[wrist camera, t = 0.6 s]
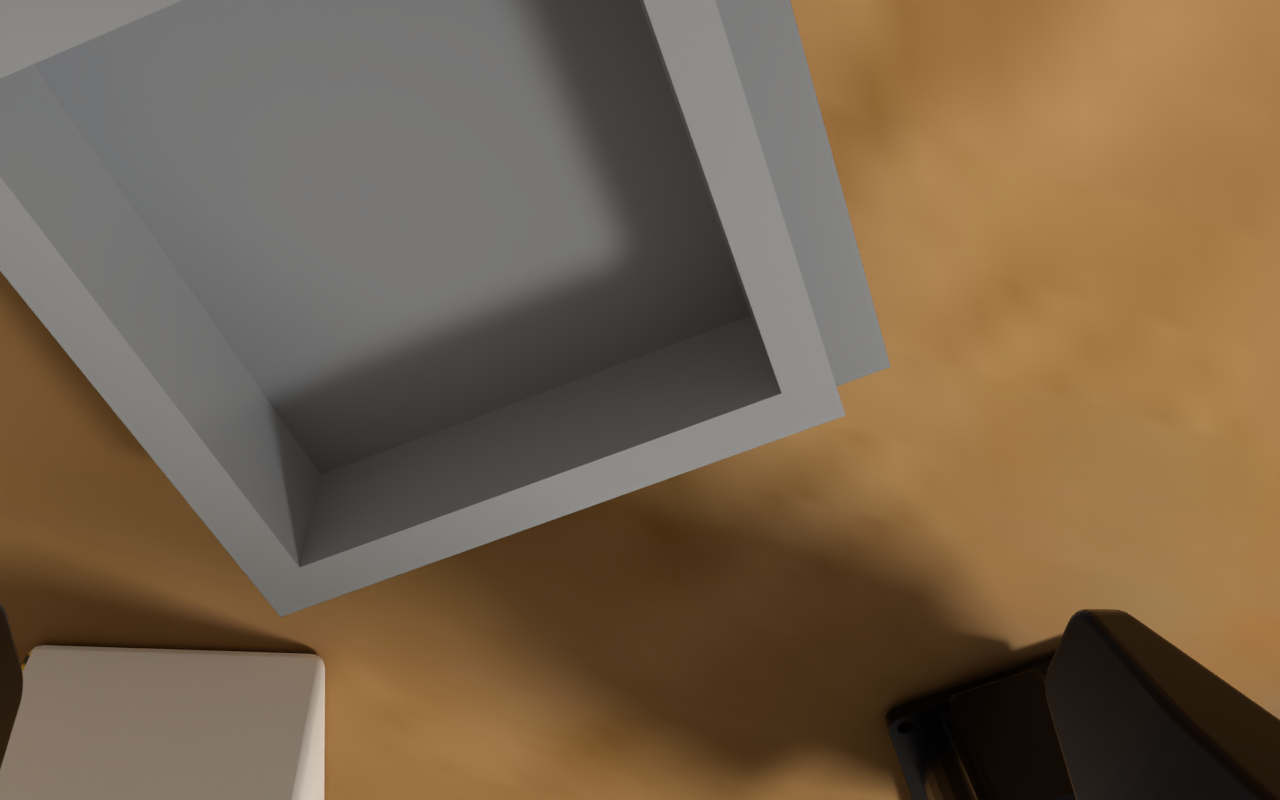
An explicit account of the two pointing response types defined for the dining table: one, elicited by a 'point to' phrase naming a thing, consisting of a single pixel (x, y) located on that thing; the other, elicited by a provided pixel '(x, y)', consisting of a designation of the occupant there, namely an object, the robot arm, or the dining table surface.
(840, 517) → the dining table surface
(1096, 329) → the dining table surface
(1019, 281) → the dining table surface
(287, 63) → the bottle caddy
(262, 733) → the medicine bottle
